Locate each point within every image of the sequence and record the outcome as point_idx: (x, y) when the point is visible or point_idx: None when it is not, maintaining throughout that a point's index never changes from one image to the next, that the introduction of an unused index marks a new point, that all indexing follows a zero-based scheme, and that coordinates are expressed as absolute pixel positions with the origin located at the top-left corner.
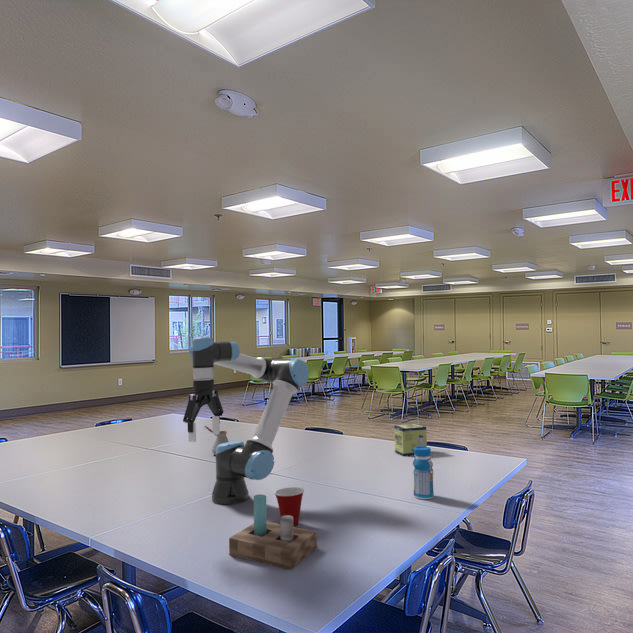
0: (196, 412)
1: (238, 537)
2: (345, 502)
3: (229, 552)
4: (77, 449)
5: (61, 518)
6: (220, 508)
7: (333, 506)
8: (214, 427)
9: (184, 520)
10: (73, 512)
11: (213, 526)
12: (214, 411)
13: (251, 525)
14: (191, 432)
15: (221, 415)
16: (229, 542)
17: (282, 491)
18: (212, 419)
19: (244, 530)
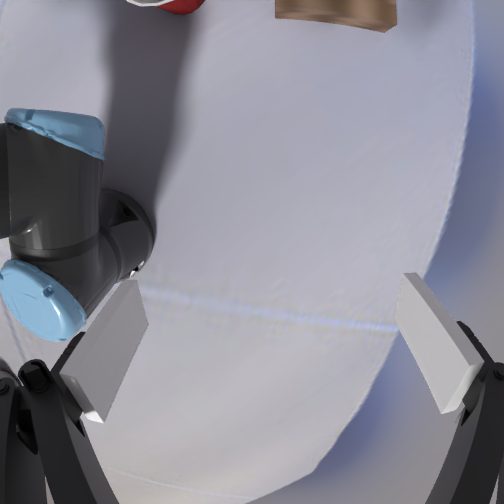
0: (497, 456)
1: (385, 7)
2: (41, 5)
3: (385, 31)
4: (141, 498)
5: (342, 410)
6: (173, 209)
7: (64, 3)
8: (128, 339)
9: (276, 236)
10: (317, 416)
11: (278, 145)
12: (82, 446)
13: (315, 6)
14: (459, 321)
15: (35, 363)
16: (393, 26)
17: (143, 2)
18: (112, 400)
19: (348, 9)
